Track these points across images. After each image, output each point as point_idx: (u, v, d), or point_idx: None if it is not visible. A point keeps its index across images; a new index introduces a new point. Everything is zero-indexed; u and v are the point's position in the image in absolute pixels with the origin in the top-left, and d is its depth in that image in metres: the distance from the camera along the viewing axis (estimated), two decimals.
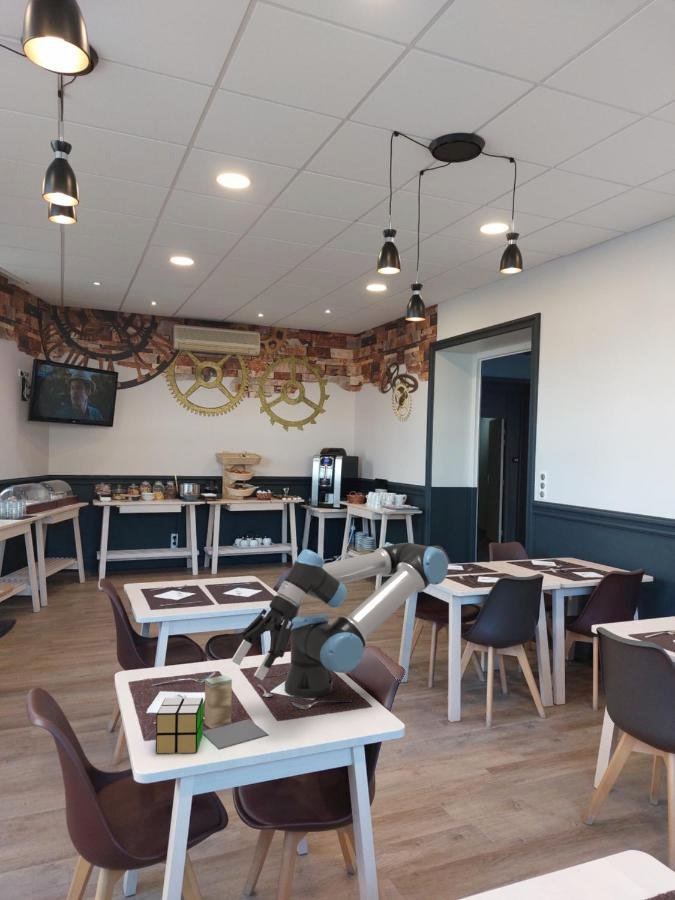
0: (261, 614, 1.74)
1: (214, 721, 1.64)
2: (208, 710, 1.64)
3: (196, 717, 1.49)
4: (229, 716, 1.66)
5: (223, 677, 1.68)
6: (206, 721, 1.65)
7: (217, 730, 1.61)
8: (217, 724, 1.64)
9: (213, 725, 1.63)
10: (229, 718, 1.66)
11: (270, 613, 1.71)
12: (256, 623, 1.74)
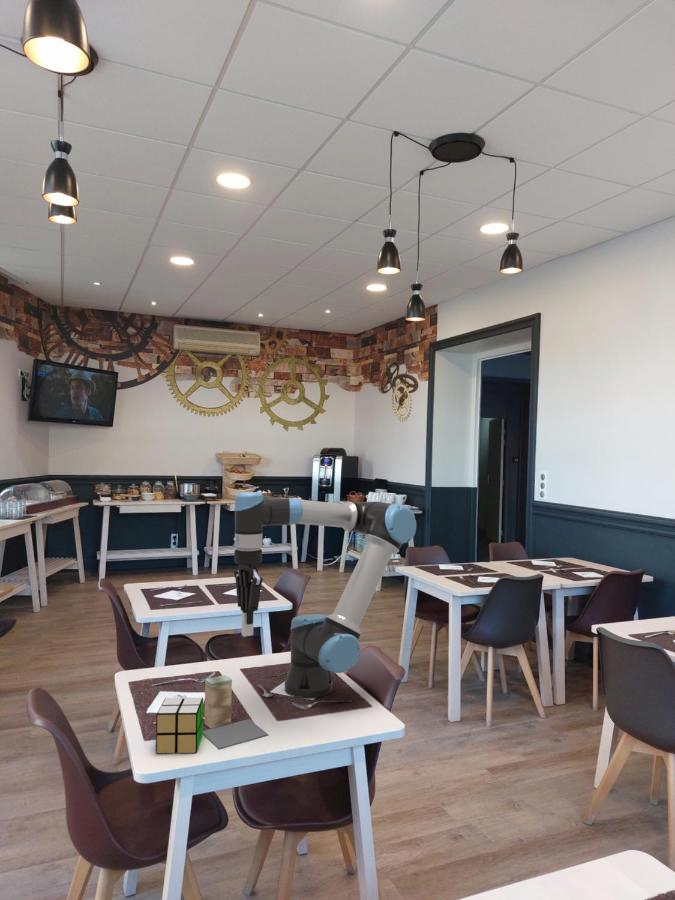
0: (236, 576, 1.69)
1: (214, 721, 1.64)
2: (208, 710, 1.64)
3: (196, 717, 1.49)
4: (229, 716, 1.66)
5: (223, 677, 1.68)
6: (206, 721, 1.65)
7: (217, 730, 1.61)
8: (217, 724, 1.64)
9: (213, 725, 1.63)
10: (229, 718, 1.66)
11: (239, 565, 1.68)
12: (239, 586, 1.69)
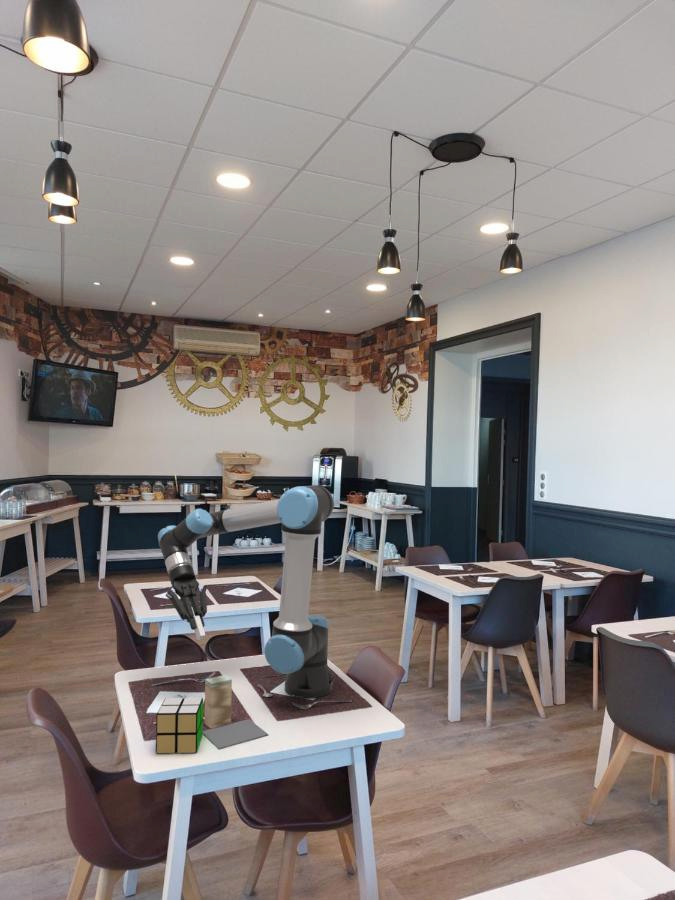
0: None
1: (214, 721, 1.64)
2: (208, 710, 1.64)
3: (196, 717, 1.49)
4: (229, 716, 1.66)
5: (223, 677, 1.68)
6: (206, 721, 1.65)
7: (217, 730, 1.61)
8: (217, 724, 1.64)
9: (213, 725, 1.63)
10: (229, 718, 1.66)
11: None
12: (200, 600, 1.86)
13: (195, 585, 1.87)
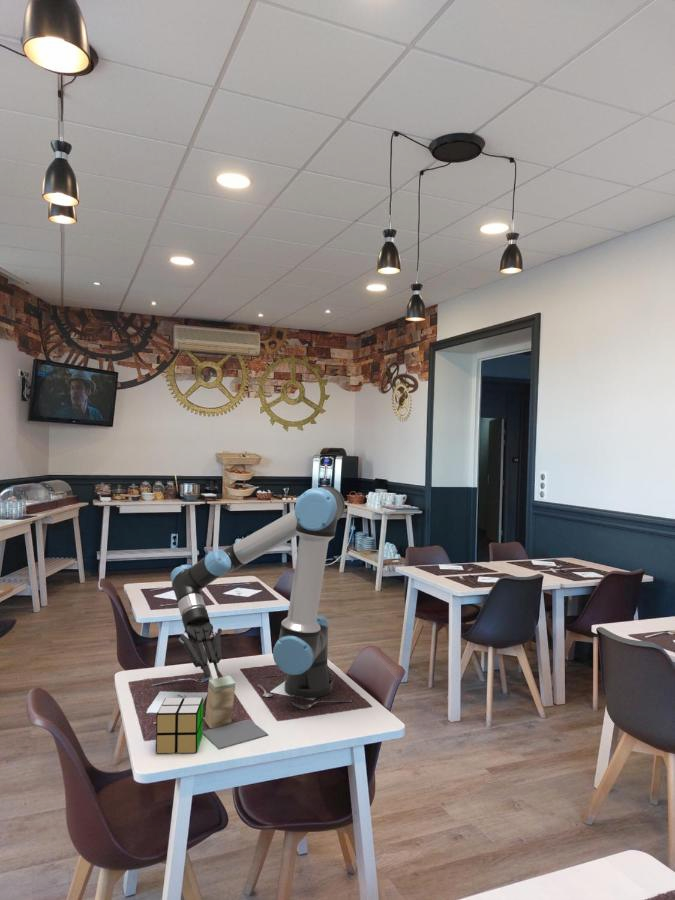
0: None
1: (215, 722, 1.63)
2: (209, 710, 1.63)
3: (196, 717, 1.49)
4: (230, 717, 1.66)
5: (227, 679, 1.66)
6: (206, 719, 1.65)
7: (217, 730, 1.61)
8: (217, 724, 1.64)
9: (213, 725, 1.63)
10: (229, 719, 1.66)
11: None
12: (214, 644, 1.77)
13: (209, 629, 1.78)
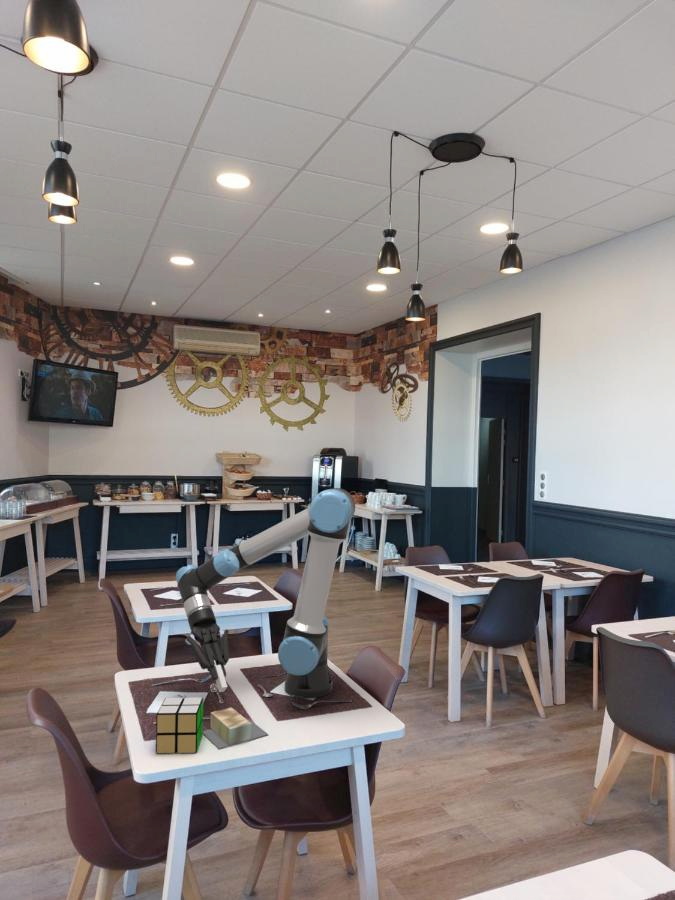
0: None
1: None
2: (217, 727, 1.59)
3: (196, 717, 1.49)
4: None
5: (247, 730, 1.56)
6: (212, 718, 1.62)
7: None
8: None
9: None
10: None
11: None
12: (221, 646, 1.74)
13: (216, 630, 1.75)
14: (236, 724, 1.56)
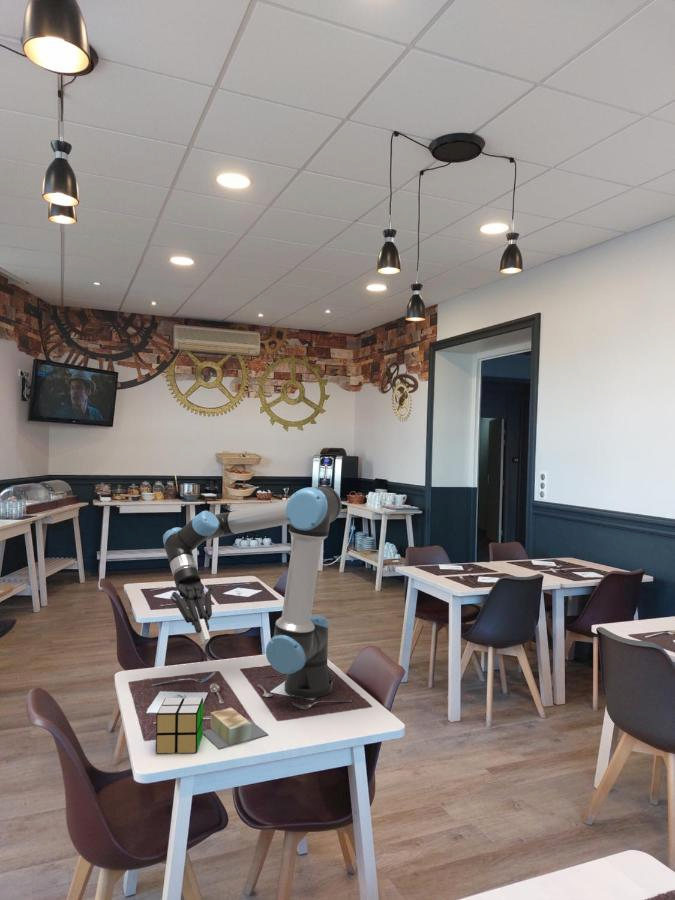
0: None
1: None
2: (217, 727, 1.59)
3: (196, 717, 1.49)
4: None
5: (247, 730, 1.56)
6: (212, 718, 1.62)
7: None
8: None
9: None
10: None
11: None
12: (205, 603, 1.84)
13: (200, 588, 1.85)
14: (236, 724, 1.56)
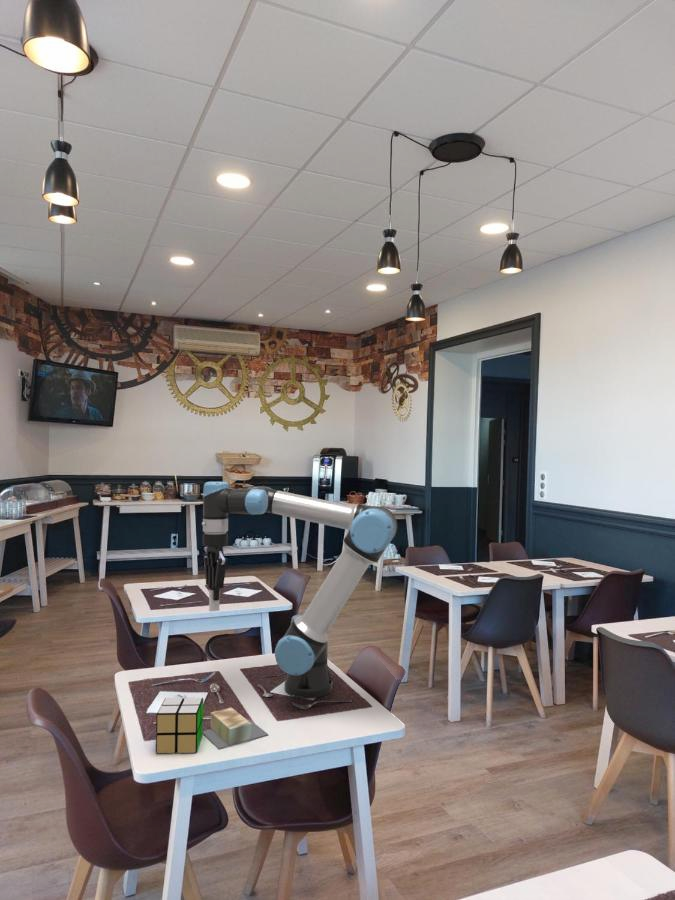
0: (204, 557, 1.87)
1: None
2: (217, 727, 1.59)
3: (196, 717, 1.49)
4: None
5: (247, 730, 1.56)
6: (212, 718, 1.62)
7: None
8: None
9: None
10: None
11: (207, 547, 1.86)
12: (207, 566, 1.87)
13: None
14: (236, 724, 1.56)
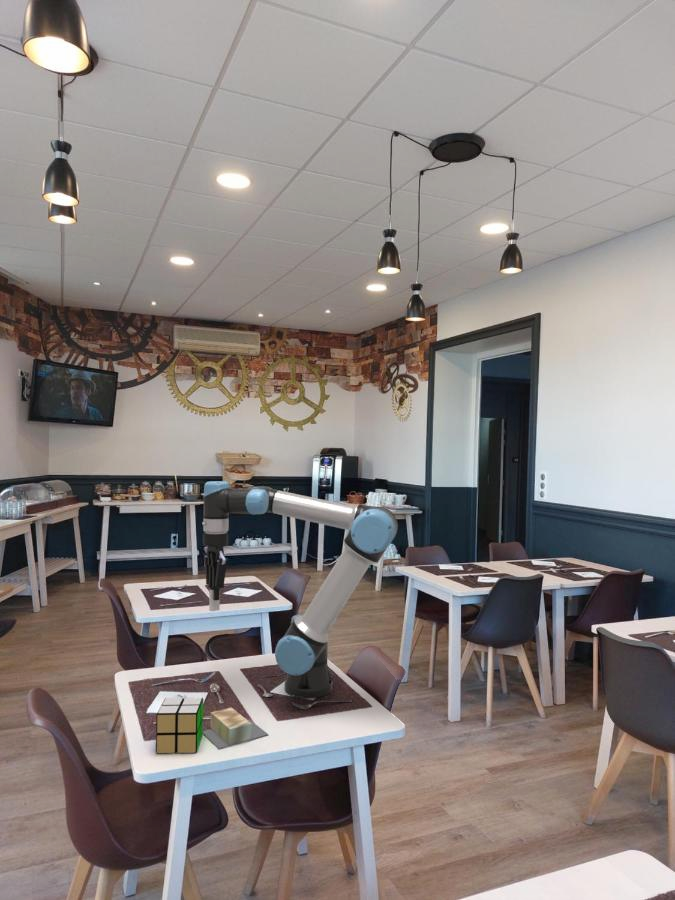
0: (205, 557, 1.87)
1: None
2: (217, 727, 1.59)
3: (196, 717, 1.49)
4: None
5: (247, 730, 1.56)
6: (212, 718, 1.62)
7: None
8: None
9: None
10: None
11: (208, 547, 1.86)
12: (208, 566, 1.87)
13: None
14: (236, 724, 1.56)
